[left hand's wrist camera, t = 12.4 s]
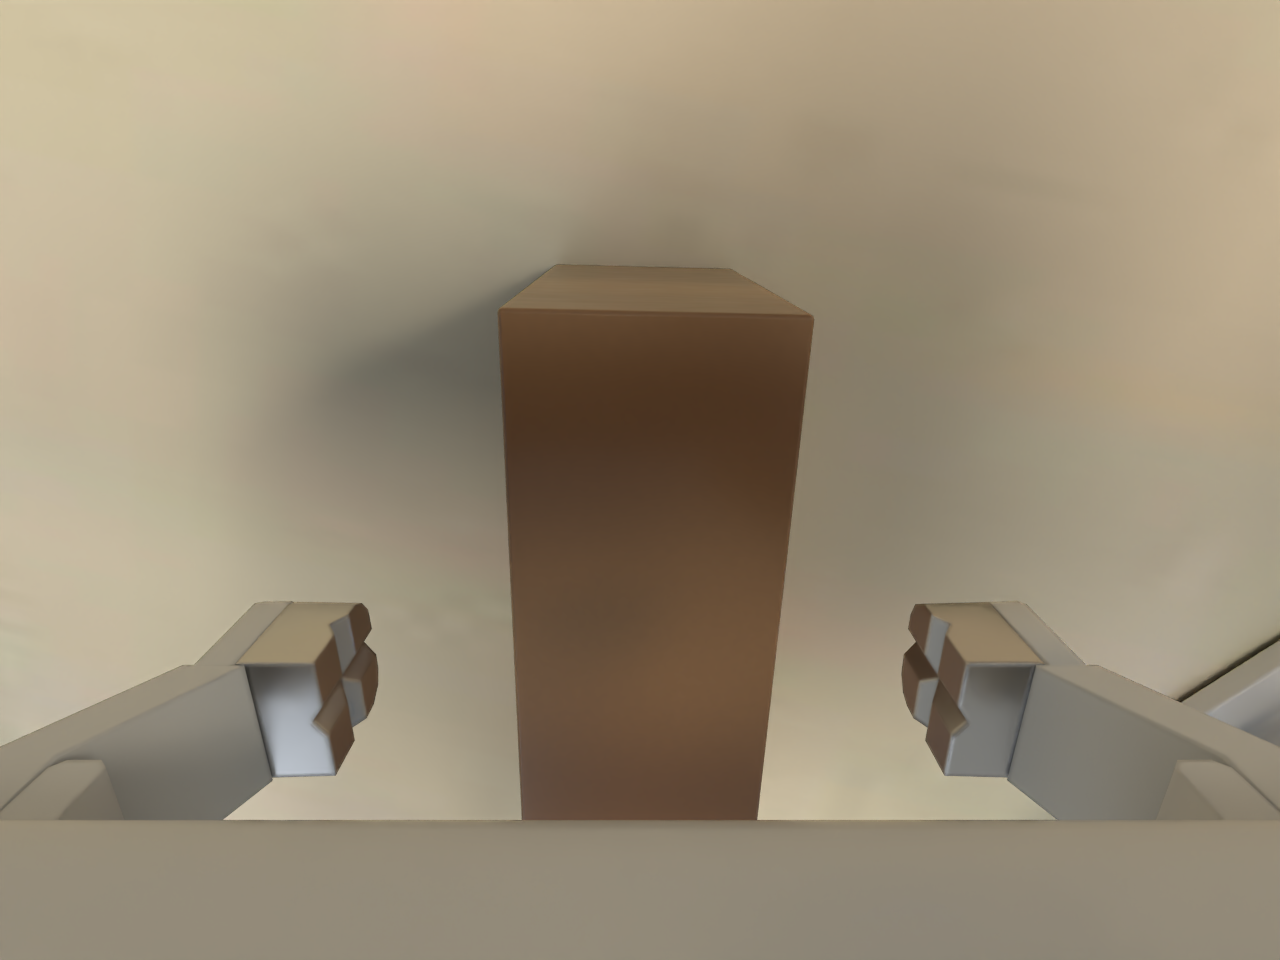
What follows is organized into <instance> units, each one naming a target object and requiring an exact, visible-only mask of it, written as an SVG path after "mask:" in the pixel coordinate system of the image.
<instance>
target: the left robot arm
mask: <svg viewBox="0 0 1280 960" xmlns="http://www.w3.org/2000/svg"><path fill="white" fill-rule="evenodd" d="M371 629H372V627H371V622H370V618H369V613H368V609H367V608H366V607H365V606H364V605H363V604H362V603H332V602H292V601H280V602H260V603H255V604H254V605H253V606H252V607H251V608H250V609H249V610H248V611H247V612H246V613H245V614H244V615H243V616H242V617H241V618H240V619H239V620H238V621H237V622H236V623H235V624H234V625H233V626H232V627H231V628H230V629H229V630H228V631H227V632H226V633H225V634H224V635H223V636H222V637H221V638H220V639H219V640H218V641H217V642H216V643H215V644H214V645H213V646H212V647H211V648H210V649H209V650H208V651H207V652H206V653H205V654H204V655H203V656H202V657H201V658H200V659H199V660H198V662H197V663H196V664H195V665H182V666H180V667H177V668H175V669H173V670H171V671H169V672H166V673H164V674H162V675H160V676H157V677H155V678H153V679H151V680H148V681H146V682H144V683H142V684H139V685H137V686H135V687H133V688H131V689H128V690H126V691H124V692H122V693H119V694H117V695H115V696H113V697H110V698H108V699H106V700H104V701H101V702H99V703H97V704H95V705H93V706H90V707H88V708H86V709H84V710H81V711H79V712H77V713H75V714H72V715H70V716H68V717H66V718H63V719H61V720H59V721H57V722H55V723H52V724H50V725H48V726H46V727H43V728H41V729H39V730H37V731H34V732H32V733H30V734H28V735H25V736H23V737H21V738H19V739H17V740H14V741H12V742H10V743H8V744H5V745H3V746H1V747H0V960H1280V640H1279V641H1277V642H1276V643H1274V644H1273V645H1271V646H1269V647H1268V648H1266V649H1265V650H1263V651H1261V652H1260V653H1258V654H1257V655H1255V656H1254V657H1252V658H1250V659H1249V660H1247V661H1246V662H1244V663H1242V664H1241V665H1239V666H1238V667H1236V668H1235V669H1233V670H1231V671H1230V672H1228V673H1227V674H1225V675H1224V676H1222V677H1220V678H1219V679H1217V680H1216V681H1214V682H1212V683H1211V684H1209V685H1208V686H1206V687H1205V688H1203V689H1201V690H1200V691H1198V692H1197V693H1195V694H1194V695H1192V696H1190V697H1189V698H1187V699H1186V700H1184V701H1182V702H1178V701H1176V700H1174V699H1172V698H1169V697H1167V696H1165V695H1163V694H1160V693H1158V692H1156V691H1154V690H1152V689H1149V688H1147V687H1145V686H1143V685H1140V684H1138V683H1136V682H1134V681H1132V680H1129V679H1127V678H1125V677H1123V676H1120V675H1118V674H1116V673H1114V672H1111V671H1109V670H1107V669H1105V668H1103V667H1100V666H1098V665H1085V663H1084V662H1083V661H1082V660H1081V659H1080V658H1079V657H1078V656H1077V655H1076V654H1075V653H1074V652H1073V651H1072V650H1071V649H1070V648H1069V647H1068V646H1067V645H1066V644H1065V643H1064V642H1063V641H1062V640H1061V639H1060V638H1059V637H1058V636H1057V635H1056V634H1055V633H1054V632H1053V631H1052V630H1051V629H1050V628H1049V627H1048V626H1047V625H1046V624H1045V623H1044V622H1043V621H1042V620H1041V619H1040V618H1039V617H1038V616H1037V615H1036V614H1035V613H1034V612H1033V611H1032V610H1031V609H1030V608H1029V607H1028V605H1027V604H1024V603H1021V602H1019V601H1005V602H977V603H937V604H915V606H914V608H913V611H912V613H911V616H910V622H909V627H908V629H909V631H910V633H911V634H912V636H913V637H914V639H915V641H916V643H915V644H914V645H913V646H912V647H911V648H910V649H909V650H908V651H907V652H906V653H905V654H904V658H903V666H902V685H903V693H904V697H905V700H906V704H907V706H908V708H909V710H910V712H911V714H912V716H913V718H914V719H916V720H917V721H919V722H920V723H922V724H923V725H925V726H926V727H928V729H927V734H926V740H925V741H926V742H927V744H928V746H929V748H930V750H931V752H932V753H933V755H934V757H935V759H936V761H937V763H938V764H939V766H940V768H941V770H942V772H943V774H944V775H945V776H977V777H1008V779H1007V780H1008V781H1009V782H1010V783H1012V784H1013V785H1014V786H1015V787H1017V788H1018V789H1019V790H1020V791H1022V792H1023V793H1024V794H1025V795H1027V796H1028V797H1029V798H1031V799H1032V800H1033V801H1034V802H1036V803H1037V804H1038V805H1039V806H1041V807H1042V808H1043V809H1045V810H1046V811H1047V812H1048V813H1050V814H1051V815H1052V816H1053V817H1055V818H1056V819H1057V820H223V819H224V818H226V817H227V816H228V815H229V814H231V813H232V812H233V811H234V810H236V809H237V808H238V807H240V806H241V805H242V804H243V803H245V802H246V801H247V800H248V799H250V798H251V797H252V796H254V795H255V794H256V793H257V792H259V791H260V790H261V789H262V788H264V787H265V786H266V785H268V784H269V783H270V782H271V781H272V780H273V779H272V777H302V776H336V774H337V772H338V770H339V768H340V766H341V765H342V763H343V761H344V759H345V757H346V755H347V753H348V752H349V750H350V748H351V746H352V744H353V742H354V741H355V740H354V734H353V728H352V727H354V726H355V725H357V724H358V723H360V722H361V721H363V720H364V719H366V718H367V716H368V714H369V712H370V710H371V708H372V706H373V704H374V700H375V696H376V691H377V687H378V664H377V657H376V654H375V653H374V652H373V651H372V650H371V649H370V648H369V647H368V646H367V645H366V644H365V643H364V641H365V639H366V637H367V636H368V634H369V633H370V631H371Z"/></svg>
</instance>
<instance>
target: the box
mask: <svg viewBox="0 0 1280 960" xmlns="http://www.w3.org/2000/svg"><path fill="white" fill-rule="evenodd" d="M813 325H814V317H813V316H812V315H811V314H809V313H807V312H805V311H804V310H802V309H800V308H798V307H797V306H795V305H793V304H791V303H790V302H788V301H786V300H784V299H783V298H781V297H779V296H777V295H776V294H774V293H772V292H770V291H769V290H767V289H765V288H763V287H762V286H760V285H758V284H756V283H755V282H753V281H751V280H749V279H748V278H746V277H744V276H742V275H741V274H739V273H737V272H735V271H734V270H732V269H715V268H674V267H634V266H594V265H555V266H554V267H552V268H551V269H550V270H549V271H547V272H546V273H545V274H543V275H542V276H541V277H539V278H538V279H537V280H536V281H534V282H533V283H532V284H530V285H529V286H528V287H526V288H525V289H524V290H522V291H521V292H520V293H519V294H517V295H516V296H515V297H513V298H512V299H511V300H509V301H508V302H507V303H506V304H504V305H503V306H502V307H500V308H499V310H498V333H499V353H500V374H501V395H502V416H503V436H504V457H505V478H506V498H507V519H508V540H509V561H510V581H511V602H512V623H513V644H514V664H515V685H516V706H517V726H518V747H519V768H520V789H521V809H522V820H757V817H758V808H759V799H760V790H761V782H762V773H763V764H764V755H765V747H766V738H767V729H768V720H769V711H770V703H771V694H772V685H773V676H774V668H775V659H776V650H777V641H778V632H779V624H780V615H781V606H782V597H783V589H784V580H785V571H786V562H787V553H788V545H789V536H790V527H791V518H792V510H793V501H794V492H795V483H796V474H797V466H798V457H799V448H800V439H801V431H802V422H803V413H804V404H805V395H806V387H807V378H808V369H809V360H810V352H811V343H812V334H813Z"/></svg>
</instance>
